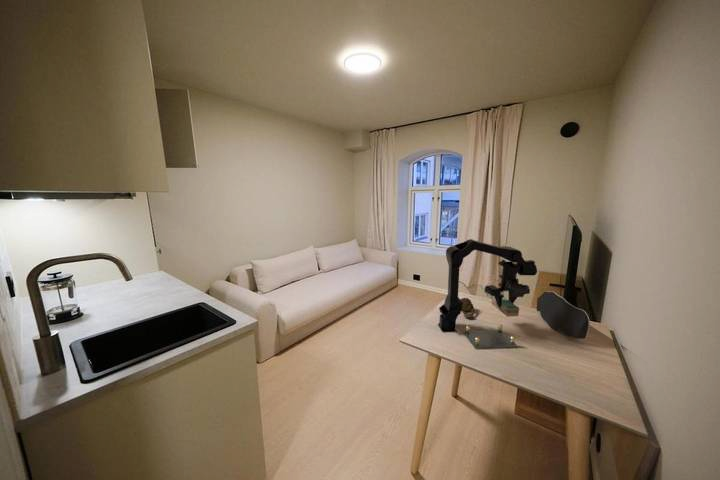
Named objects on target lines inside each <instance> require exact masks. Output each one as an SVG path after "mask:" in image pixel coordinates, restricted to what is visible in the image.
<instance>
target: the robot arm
mask: <svg viewBox="0 0 720 480" xmlns="http://www.w3.org/2000/svg"><path fill="white" fill-rule="evenodd" d="M474 251H478V252H482V253H486V254H489V255H493V256H498V257H500V258H503V259H502V260H500V261H499V262H498V263H497V264H498V265H499V266H501V267H502V271H501V274H499V277H498V278H500V282H499V283H498V284H497V285H498V287H497V286H495V285H494V284H492V285H491V284H490V285H486V286H484V292H486V293H487V294H489V296H492V297H493V296H494V297H495V299H496V302H497V305H498V307H501V302H502V298H503V297H505V295H504V294H503V293H504V292H505V293H506V292H507V293H508V300H509V301H510V302H512V303H513V304H515V301H516V300H517V299H518V298H523V297H525V295H529V294H530V292H531V290H530V286H529V285H528V284H523V283H519V279H518V278H517V277H518V276H531V277H532V276H536V274H537V273H538V268H537V265H536V261H534V260H531V259H529V260H525V259H524V257H523V253H522V251H521V250H520V249H517V248H514V247H512V246H505V245H502V246H499V245H498V246H497V245H494V244H489V243H486V242H481V241H479V240H478V241H477V240H474V239H472V238H470V239H467V240H465V241H463V242H460V243H457V244H454V245H451V246H449V247H447V248H446V249H445V257H446V261H447V264H448V277H447V278H448V282H447V295H446V296H445V299H444V303H443V304H441V306H439V307H438V310H439V312H440V314H439V319H438V320H439V321H438V322H439V323H437V326H438V327H439V329H440V330H441V332H442V333H445V332H446V333H447V332H448V333H449V332H450V333H451V332H457V330H456V324H457V318H458V317H459V315H460V314H461V312H462V311H463V310H462V305H463V302H462V301H461V300H460V299H461V298H460V297H459V284H460V283H459V281H460V268H461V266H462V264H463V261H464V258H466V257H468V256H469V255H470V254H471V253H472V252H474ZM517 275H518V276H517ZM461 310H462V311H461Z"/></svg>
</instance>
